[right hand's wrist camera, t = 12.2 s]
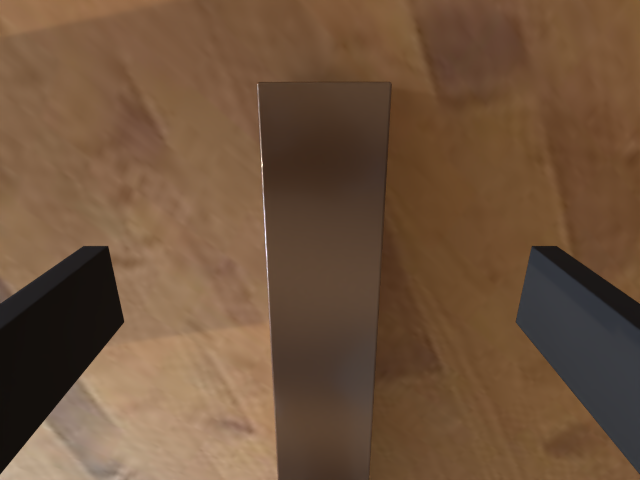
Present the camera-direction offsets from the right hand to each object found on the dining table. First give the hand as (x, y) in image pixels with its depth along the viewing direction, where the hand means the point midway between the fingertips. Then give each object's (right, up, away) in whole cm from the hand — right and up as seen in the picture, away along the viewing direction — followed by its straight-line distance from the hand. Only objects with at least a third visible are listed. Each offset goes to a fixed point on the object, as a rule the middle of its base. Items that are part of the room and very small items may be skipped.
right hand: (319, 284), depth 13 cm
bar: (0, -18, +20) cm, 27 cm away
